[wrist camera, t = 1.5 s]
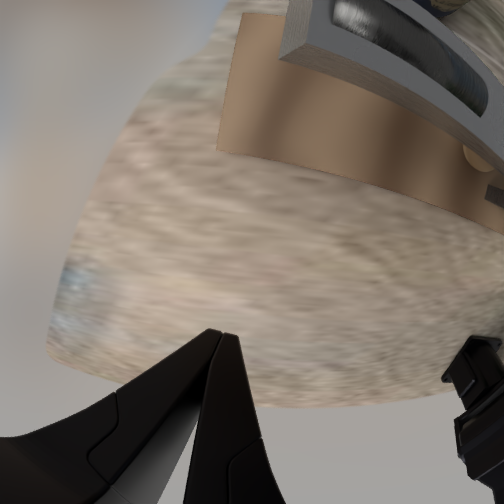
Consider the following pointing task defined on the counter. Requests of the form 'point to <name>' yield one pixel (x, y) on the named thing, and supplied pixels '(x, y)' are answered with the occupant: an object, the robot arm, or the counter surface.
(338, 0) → the lever
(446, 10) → the canister
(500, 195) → the press frame
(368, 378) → the counter surface
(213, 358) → the robot arm
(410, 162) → the base
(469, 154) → the walnut
